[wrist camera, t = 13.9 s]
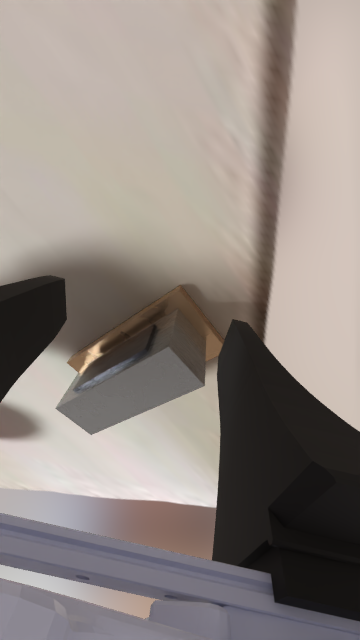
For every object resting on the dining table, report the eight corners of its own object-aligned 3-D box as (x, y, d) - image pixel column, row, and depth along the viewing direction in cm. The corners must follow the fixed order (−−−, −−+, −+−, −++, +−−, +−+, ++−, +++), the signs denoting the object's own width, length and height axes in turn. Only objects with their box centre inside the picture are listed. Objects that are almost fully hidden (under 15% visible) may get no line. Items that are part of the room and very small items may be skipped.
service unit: (71, 356, 25) (36, 403, 20) (180, 284, 20) (169, 326, 15) (119, 397, 28) (98, 448, 23) (227, 344, 22) (230, 396, 17)
